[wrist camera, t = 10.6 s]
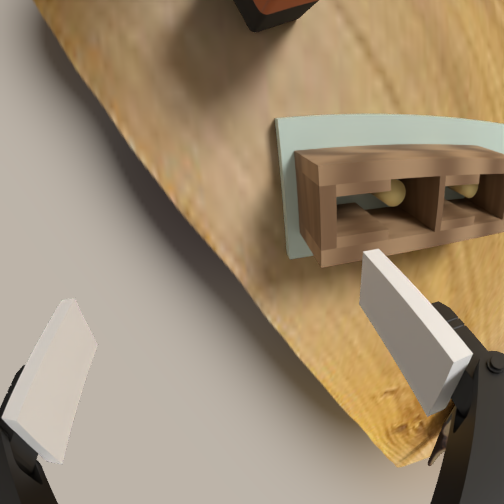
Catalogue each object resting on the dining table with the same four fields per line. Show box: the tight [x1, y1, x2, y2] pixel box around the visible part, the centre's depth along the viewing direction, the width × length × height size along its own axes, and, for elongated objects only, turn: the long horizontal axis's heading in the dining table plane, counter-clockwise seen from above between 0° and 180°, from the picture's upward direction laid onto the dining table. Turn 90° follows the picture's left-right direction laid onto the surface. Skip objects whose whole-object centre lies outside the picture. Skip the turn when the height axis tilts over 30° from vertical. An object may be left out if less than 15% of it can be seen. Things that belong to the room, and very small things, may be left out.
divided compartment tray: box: [294, 144, 504, 268], centre depth 23 cm, size 20×7×6 cm, turn 97°
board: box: [275, 114, 504, 259], centre depth 25 cm, size 28×12×4 cm, turn 97°
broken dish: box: [428, 417, 451, 466], centre depth 47 cm, size 22×30×8 cm
